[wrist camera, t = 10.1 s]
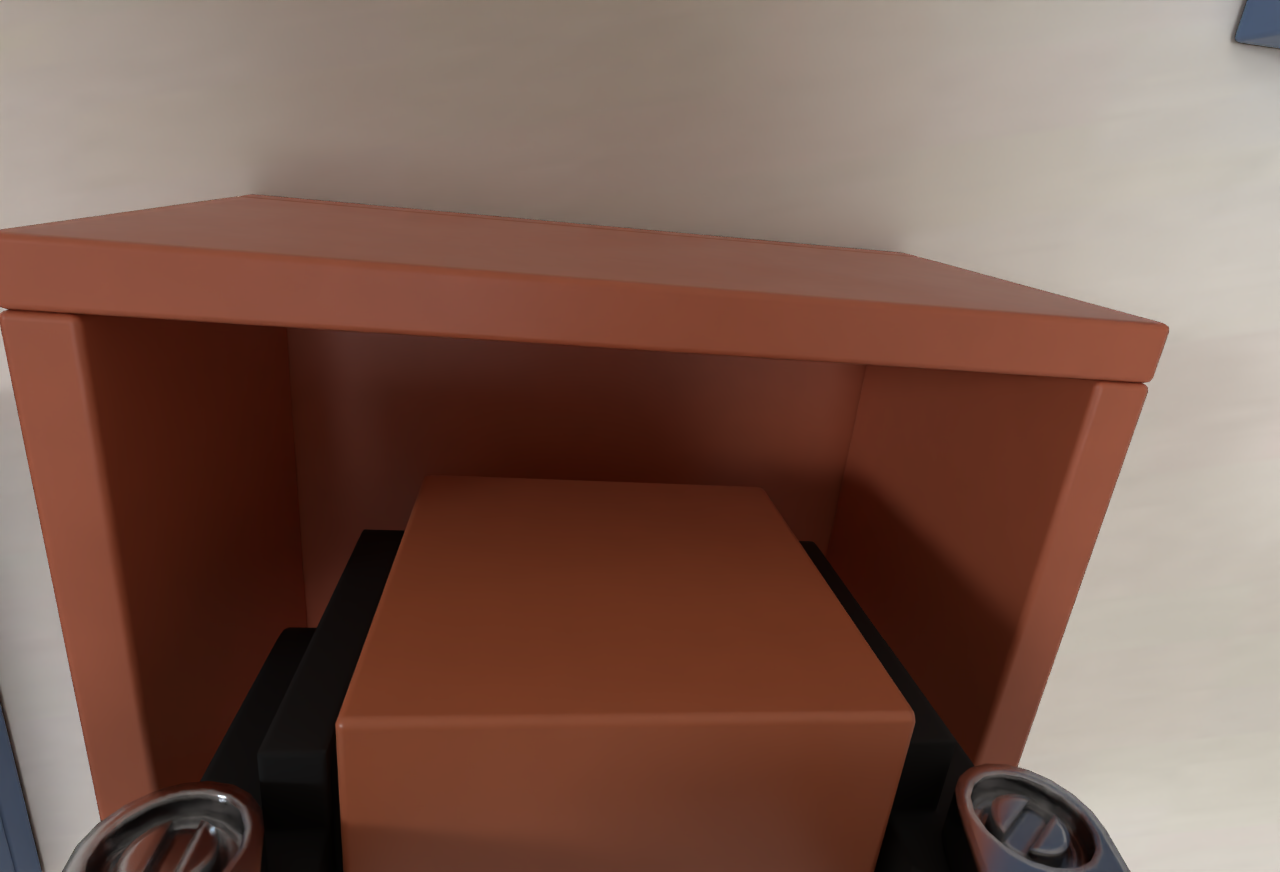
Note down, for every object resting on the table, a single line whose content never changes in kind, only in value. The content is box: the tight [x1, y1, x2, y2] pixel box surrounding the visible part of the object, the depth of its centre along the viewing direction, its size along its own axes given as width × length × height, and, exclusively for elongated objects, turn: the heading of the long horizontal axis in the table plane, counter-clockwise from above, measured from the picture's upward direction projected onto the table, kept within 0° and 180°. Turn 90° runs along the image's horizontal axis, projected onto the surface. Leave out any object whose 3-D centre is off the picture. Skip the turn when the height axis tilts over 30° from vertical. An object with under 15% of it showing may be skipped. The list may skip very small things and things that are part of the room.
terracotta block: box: [335, 475, 915, 872], centre depth 8 cm, size 4×4×4 cm
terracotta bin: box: [0, 194, 1169, 821], centre depth 11 cm, size 10×10×6 cm
